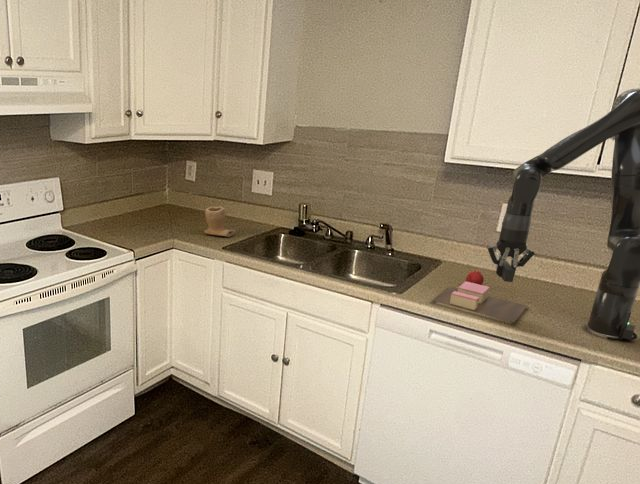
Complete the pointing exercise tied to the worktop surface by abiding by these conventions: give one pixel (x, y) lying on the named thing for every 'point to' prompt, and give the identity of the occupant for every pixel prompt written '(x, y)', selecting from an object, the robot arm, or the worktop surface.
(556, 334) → the worktop surface
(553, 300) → the worktop surface
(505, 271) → the knife
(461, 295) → the pink and tan block
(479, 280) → the onion
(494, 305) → the cake board
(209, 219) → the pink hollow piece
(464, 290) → the cake
